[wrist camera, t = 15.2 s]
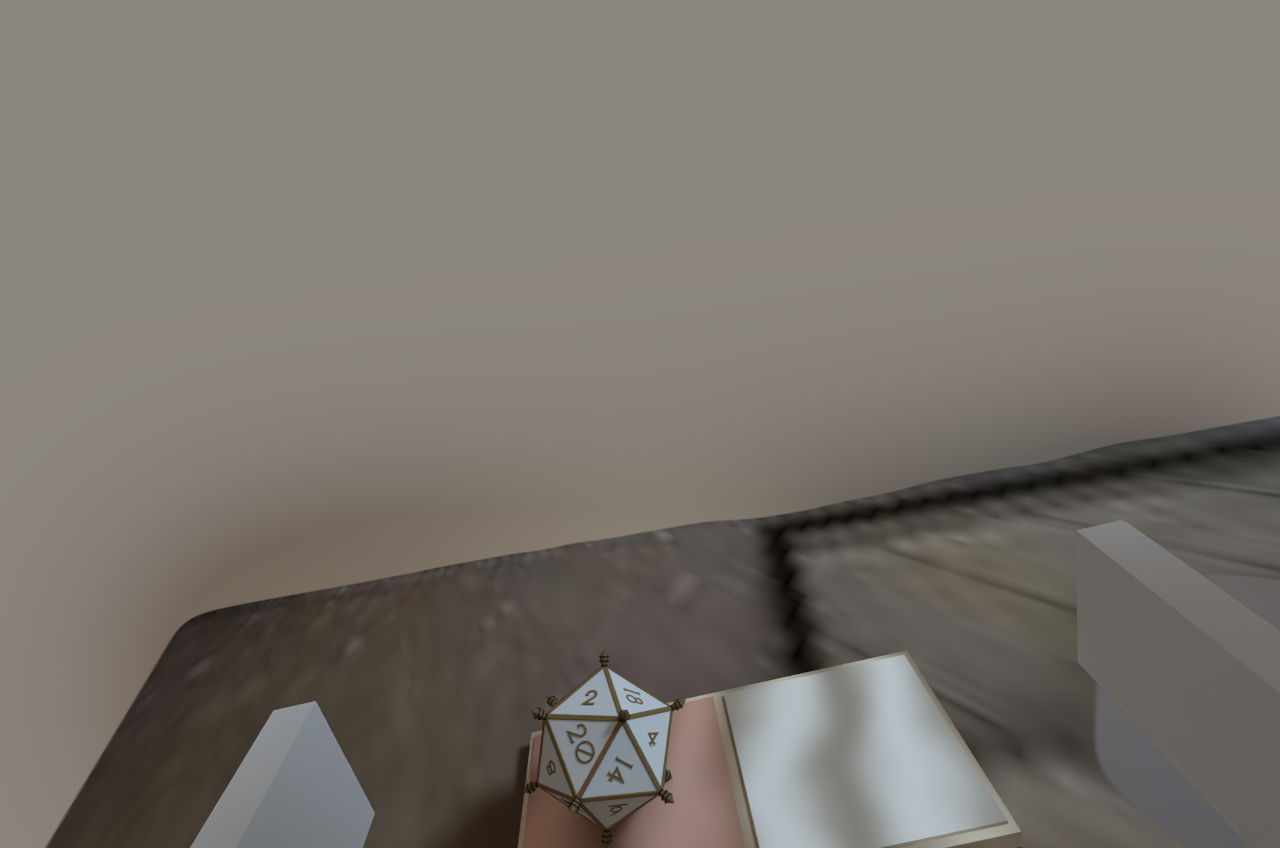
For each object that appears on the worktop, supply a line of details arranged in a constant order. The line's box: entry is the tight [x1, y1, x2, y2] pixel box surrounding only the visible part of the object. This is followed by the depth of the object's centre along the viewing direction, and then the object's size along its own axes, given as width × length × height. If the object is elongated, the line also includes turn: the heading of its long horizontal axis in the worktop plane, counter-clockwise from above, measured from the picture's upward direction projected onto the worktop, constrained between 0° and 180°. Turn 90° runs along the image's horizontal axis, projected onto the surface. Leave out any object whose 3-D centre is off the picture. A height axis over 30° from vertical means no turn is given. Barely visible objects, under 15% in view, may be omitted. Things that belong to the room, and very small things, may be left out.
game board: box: [518, 651, 1022, 848], centre depth 39 cm, size 25×13×1 cm, turn 93°
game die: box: [522, 649, 686, 848], centre depth 37 cm, size 9×8×10 cm
